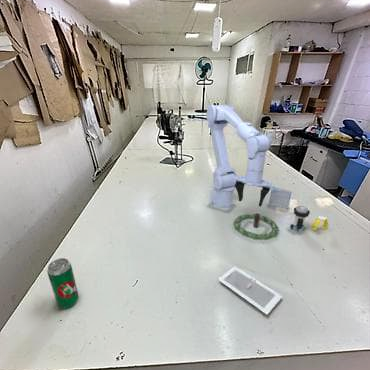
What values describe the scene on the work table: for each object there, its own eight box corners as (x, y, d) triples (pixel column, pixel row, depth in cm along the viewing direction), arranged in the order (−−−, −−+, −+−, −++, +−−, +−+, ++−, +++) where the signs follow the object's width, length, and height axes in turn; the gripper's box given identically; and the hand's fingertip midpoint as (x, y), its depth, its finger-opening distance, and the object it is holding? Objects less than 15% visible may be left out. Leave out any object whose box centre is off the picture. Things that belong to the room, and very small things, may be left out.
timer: (321, 227, 91) (325, 214, 89) (327, 231, 89) (331, 218, 87) (309, 230, 90) (313, 217, 87) (315, 234, 87) (319, 220, 85)
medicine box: (288, 207, 106) (292, 190, 103) (286, 212, 103) (290, 194, 99) (270, 203, 110) (273, 186, 107) (268, 207, 107) (271, 189, 103)
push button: (300, 226, 93) (306, 203, 89) (310, 233, 88) (317, 210, 84) (286, 228, 91) (291, 205, 87) (295, 236, 86) (301, 212, 82)
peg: (241, 230, 89) (243, 215, 87) (248, 221, 95) (250, 207, 93) (262, 237, 85) (265, 222, 83) (268, 227, 91) (271, 213, 89)
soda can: (61, 293, 62) (51, 257, 57) (81, 292, 62) (73, 256, 57) (53, 310, 57) (42, 272, 52) (75, 309, 58) (65, 271, 53)
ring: (226, 232, 88) (227, 227, 87) (242, 214, 101) (243, 209, 100) (271, 248, 80) (272, 242, 79) (282, 226, 93) (283, 220, 92)
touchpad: (266, 317, 56) (267, 311, 55) (217, 282, 66) (218, 276, 65) (281, 299, 61) (283, 293, 60) (234, 268, 71) (234, 263, 70)
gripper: (231, 168, 85) (228, 202, 90) (273, 176, 78) (267, 212, 83) (238, 163, 90) (235, 195, 96) (277, 170, 83) (271, 204, 89)
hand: (250, 202), depth 90 cm, fingers open, 7 cm apart
